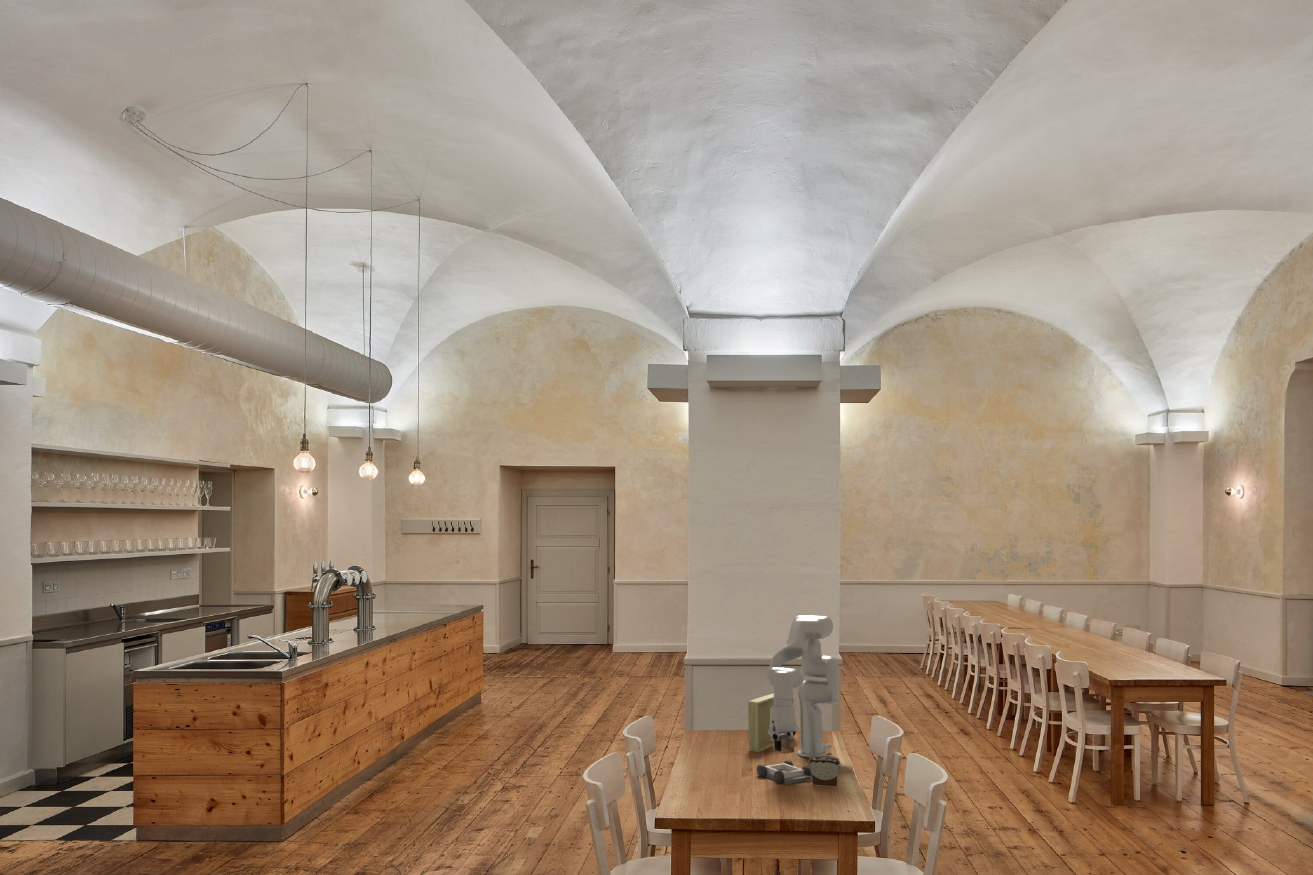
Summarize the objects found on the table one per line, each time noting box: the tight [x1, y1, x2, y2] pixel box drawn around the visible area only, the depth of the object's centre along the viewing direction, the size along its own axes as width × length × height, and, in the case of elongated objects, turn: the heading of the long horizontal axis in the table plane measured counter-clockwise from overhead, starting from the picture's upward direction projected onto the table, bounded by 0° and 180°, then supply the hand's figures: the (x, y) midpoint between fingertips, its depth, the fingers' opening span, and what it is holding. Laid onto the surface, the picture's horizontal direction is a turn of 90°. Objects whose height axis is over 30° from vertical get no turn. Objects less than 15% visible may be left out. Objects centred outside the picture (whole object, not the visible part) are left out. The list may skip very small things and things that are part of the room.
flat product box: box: [747, 692, 787, 753], centre depth 423 cm, size 35×5×22 cm, turn 145°
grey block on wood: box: [772, 734, 795, 755], centre depth 366 cm, size 5×7×6 cm
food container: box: [807, 755, 841, 788], centre depth 356 cm, size 12×6×10 cm, turn 71°
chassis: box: [756, 759, 812, 786], centre depth 365 cm, size 15×18×4 cm
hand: (783, 749), depth 366 cm, fingers closed on grey block on wood, 5 cm apart
